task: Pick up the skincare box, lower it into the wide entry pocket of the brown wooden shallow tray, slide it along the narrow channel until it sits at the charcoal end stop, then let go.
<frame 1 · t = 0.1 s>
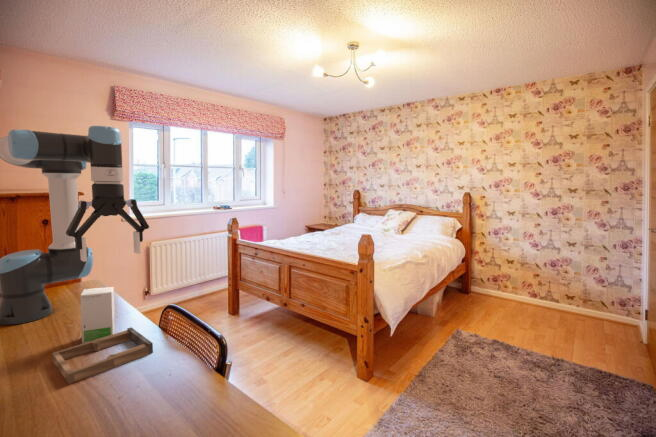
hand: (112, 256, 97), 28 cm above the table, tool pointing down, fingers open, 13 cm apart
skincare box: (99, 338, 106), on the table
brown wooden shallow tray: (104, 356, 95), on the table
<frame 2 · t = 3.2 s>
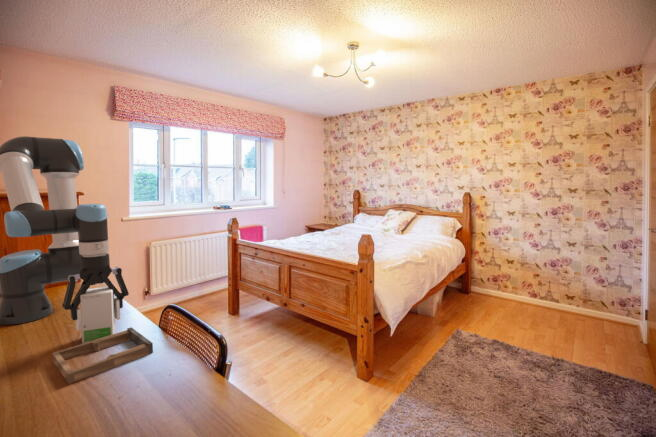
hand: (98, 323, 105), 5 cm above the table, tool pointing down, fingers closed on skincare box, 10 cm apart
skincare box: (99, 338, 106), on the table, touching gripper
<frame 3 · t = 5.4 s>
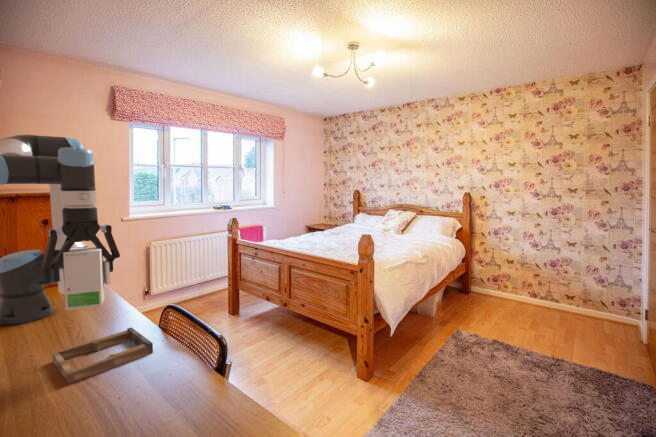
hand: (85, 287, 92), 20 cm above the table, tool pointing down, fingers closed on skincare box, 10 cm apart
skincare box: (86, 305, 92), point 16 cm above the table, touching gripper
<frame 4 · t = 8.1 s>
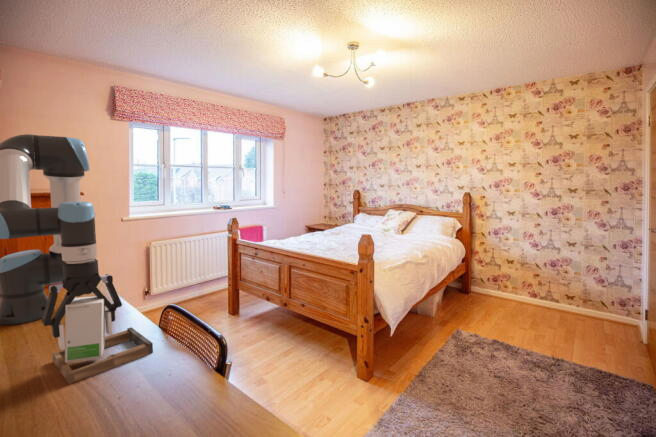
hand: (86, 340, 91), 7 cm above the table, tool pointing down, fingers closed on skincare box, 10 cm apart
skincare box: (86, 355, 91), point 2 cm above the table, touching gripper, brown wooden shallow tray
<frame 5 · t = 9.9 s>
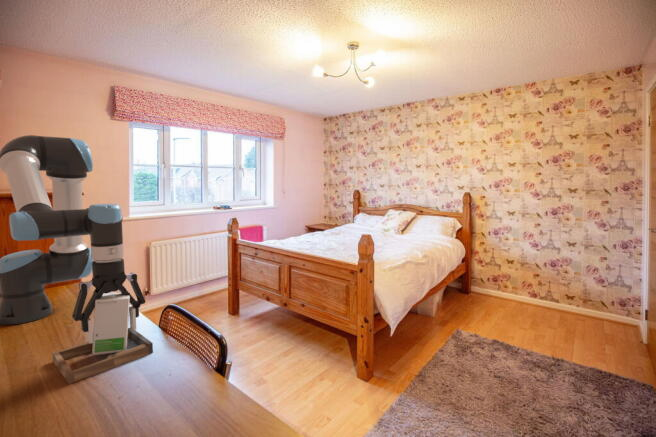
hand: (112, 334, 96), 6 cm above the table, tool pointing down, fingers closed on skincare box, 10 cm apart
skincare box: (111, 349, 96), point 2 cm above the table, touching gripper
when the fingers open (6 cm above the table, at t = 11.6 s): skincare box drops 2 cm, resting in brown wooden shallow tray.
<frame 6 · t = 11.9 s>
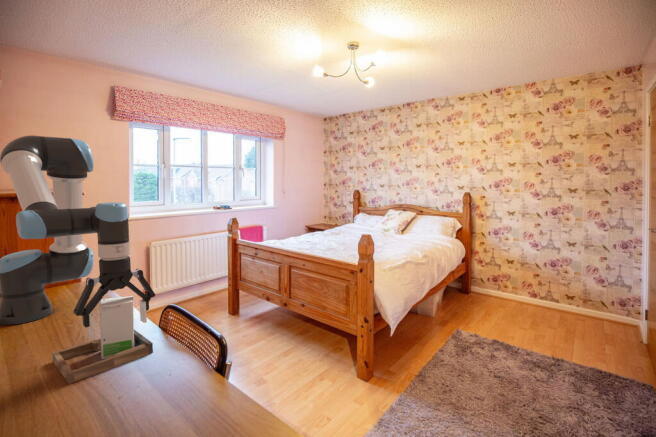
hand: (118, 328, 97), 7 cm above the table, tool pointing down, fingers open, 13 cm apart
skincare box: (119, 352, 98), resting in brown wooden shallow tray
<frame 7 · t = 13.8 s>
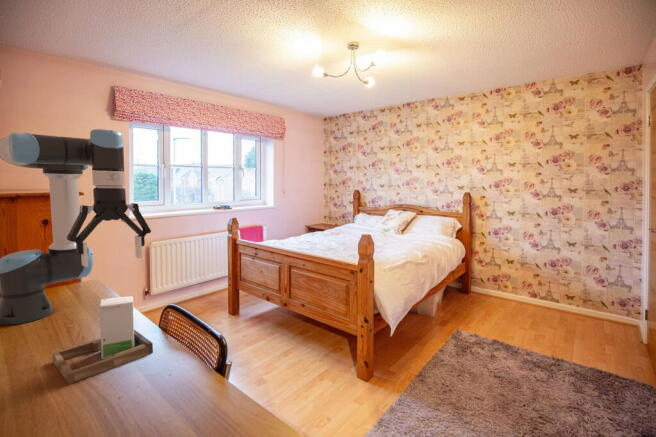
hand: (113, 261, 96), 27 cm above the table, tool pointing down, fingers open, 13 cm apart
nothing on the table moved.
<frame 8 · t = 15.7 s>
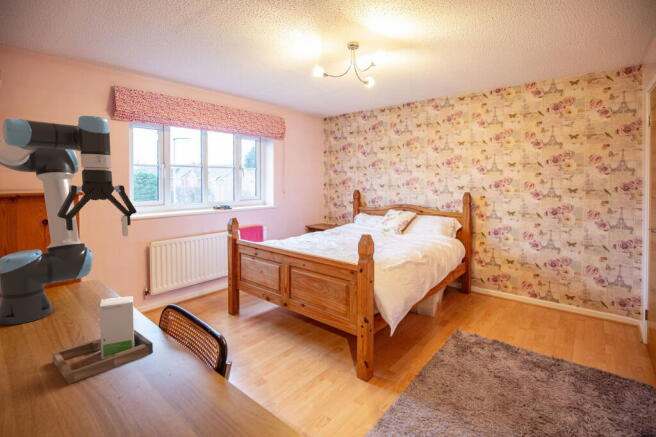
hand: (101, 238, 104), 32 cm above the table, tool pointing down, fingers open, 13 cm apart
nothing on the table moved.
at the end: skincare box 1.0 cm from the target spot, resting in brown wooden shallow tray; skincare box tilted 0°; the gripper is holding nothing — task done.
